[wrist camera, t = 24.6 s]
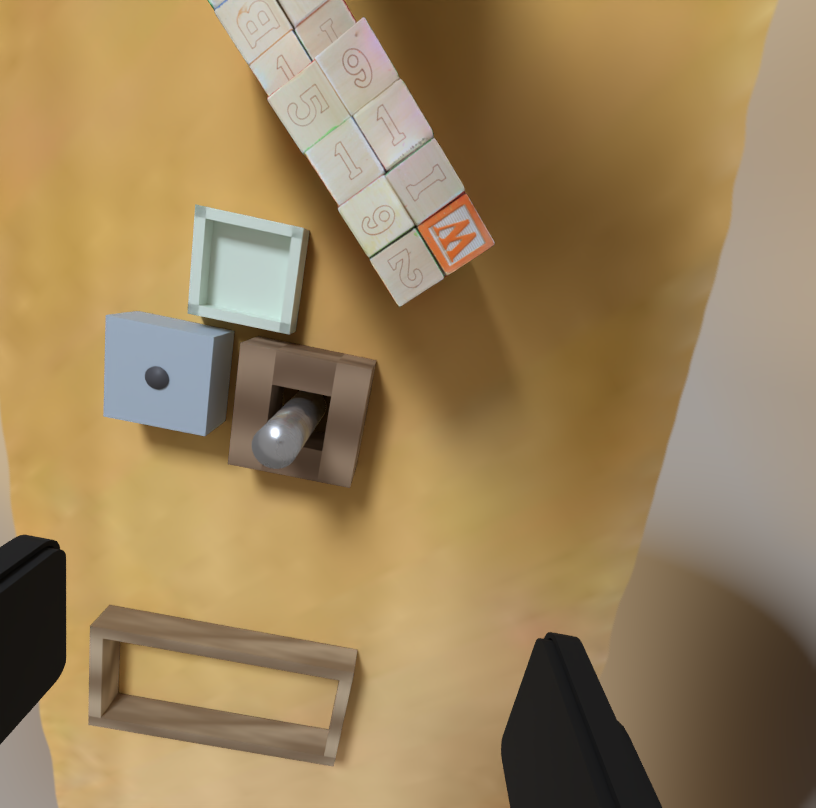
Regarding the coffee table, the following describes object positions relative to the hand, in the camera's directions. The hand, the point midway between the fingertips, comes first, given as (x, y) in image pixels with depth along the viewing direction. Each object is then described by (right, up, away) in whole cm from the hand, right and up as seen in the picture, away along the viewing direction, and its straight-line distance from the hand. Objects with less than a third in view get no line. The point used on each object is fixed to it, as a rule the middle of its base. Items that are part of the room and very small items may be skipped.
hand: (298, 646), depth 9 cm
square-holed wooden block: (-6, +5, +30) cm, 31 cm away
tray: (-10, +15, +27) cm, 33 cm away
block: (-17, +8, +30) cm, 35 cm away
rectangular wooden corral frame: (-17, -24, +38) cm, 48 cm away
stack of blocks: (-1, +24, +25) cm, 35 cm away
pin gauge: (-6, +5, +30) cm, 31 cm away
